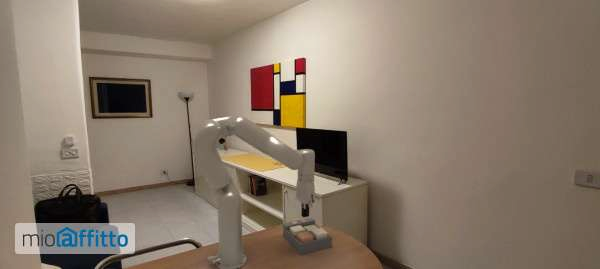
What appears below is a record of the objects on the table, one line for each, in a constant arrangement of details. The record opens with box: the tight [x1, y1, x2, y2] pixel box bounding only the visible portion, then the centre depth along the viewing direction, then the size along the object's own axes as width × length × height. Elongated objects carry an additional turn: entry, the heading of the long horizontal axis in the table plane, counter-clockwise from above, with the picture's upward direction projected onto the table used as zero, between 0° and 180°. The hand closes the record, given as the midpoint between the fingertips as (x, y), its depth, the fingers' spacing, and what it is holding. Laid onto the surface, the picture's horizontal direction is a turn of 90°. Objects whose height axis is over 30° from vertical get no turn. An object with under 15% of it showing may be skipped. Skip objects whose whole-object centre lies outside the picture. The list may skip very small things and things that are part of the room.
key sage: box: [304, 225, 319, 234], centre depth 139 cm, size 6×6×2 cm
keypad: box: [282, 217, 333, 256], centre depth 136 cm, size 16×19×7 cm
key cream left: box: [290, 225, 305, 236], centre depth 136 cm, size 6×6×2 cm
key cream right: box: [311, 227, 328, 239], centre depth 132 cm, size 6×6×2 cm
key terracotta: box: [297, 231, 313, 243], centre depth 129 cm, size 6×6×2 cm
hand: (305, 216), depth 130 cm, fingers closed
